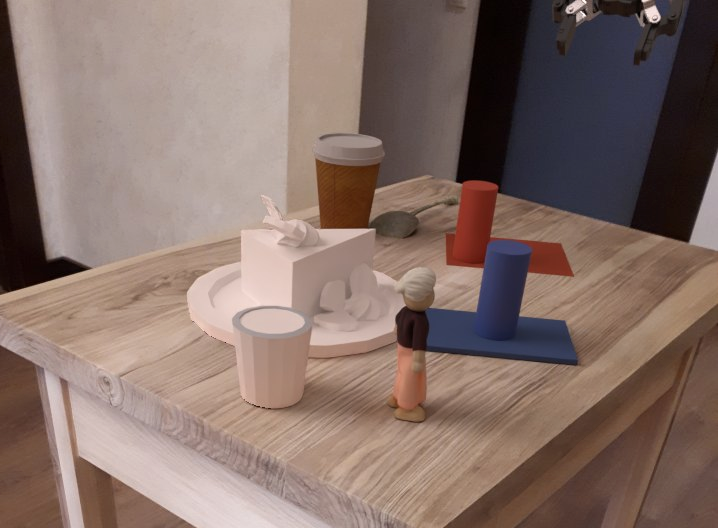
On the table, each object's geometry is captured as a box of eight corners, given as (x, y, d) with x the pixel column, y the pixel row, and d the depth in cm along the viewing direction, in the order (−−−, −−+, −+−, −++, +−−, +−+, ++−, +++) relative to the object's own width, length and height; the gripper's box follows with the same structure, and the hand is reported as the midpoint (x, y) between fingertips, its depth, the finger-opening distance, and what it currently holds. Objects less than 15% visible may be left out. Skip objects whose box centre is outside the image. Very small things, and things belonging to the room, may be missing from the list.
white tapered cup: (224, 380, 73) (222, 307, 69) (296, 371, 75) (298, 301, 71) (244, 416, 68) (243, 340, 64) (320, 406, 70) (323, 332, 66)
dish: (258, 378, 73) (257, 258, 67) (152, 286, 90) (143, 182, 83) (460, 329, 85) (477, 223, 79) (334, 256, 102) (339, 163, 95)
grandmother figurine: (443, 424, 69) (465, 282, 61) (403, 430, 67) (420, 286, 60) (405, 384, 74) (421, 249, 67) (368, 389, 73) (379, 252, 66)
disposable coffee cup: (347, 219, 115) (353, 129, 108) (392, 237, 109) (401, 144, 102) (295, 229, 110) (297, 135, 102) (338, 249, 104) (344, 151, 97)
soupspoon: (359, 238, 110) (399, 252, 107) (361, 214, 108) (402, 227, 105) (435, 200, 125) (472, 211, 122) (438, 178, 122) (476, 189, 120)
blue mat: (564, 325, 88) (565, 320, 88) (577, 365, 80) (578, 359, 79) (420, 311, 89) (420, 306, 88) (418, 350, 81) (419, 344, 80)
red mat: (560, 247, 110) (561, 243, 110) (573, 281, 100) (574, 276, 99) (444, 237, 111) (445, 232, 110) (445, 269, 100) (446, 264, 100)
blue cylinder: (513, 325, 86) (530, 242, 80) (516, 342, 82) (534, 256, 77) (472, 321, 86) (486, 238, 80) (474, 338, 82) (488, 252, 77)
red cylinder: (485, 253, 104) (497, 182, 99) (487, 264, 101) (499, 191, 95) (452, 250, 104) (462, 178, 99) (452, 261, 101) (463, 188, 96)
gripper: (584, -100, 91) (536, 22, 89) (714, -92, 86) (666, 37, 84) (584, -44, 98) (539, 71, 96) (704, -34, 93) (659, 87, 91)
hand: (599, 55), depth 90 cm, fingers open, 8 cm apart
